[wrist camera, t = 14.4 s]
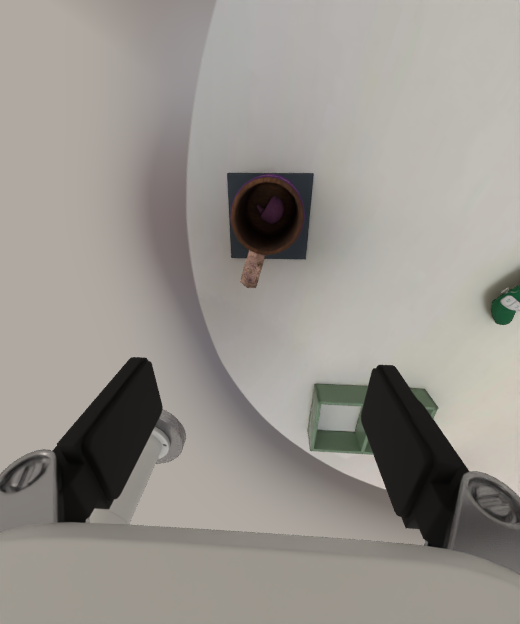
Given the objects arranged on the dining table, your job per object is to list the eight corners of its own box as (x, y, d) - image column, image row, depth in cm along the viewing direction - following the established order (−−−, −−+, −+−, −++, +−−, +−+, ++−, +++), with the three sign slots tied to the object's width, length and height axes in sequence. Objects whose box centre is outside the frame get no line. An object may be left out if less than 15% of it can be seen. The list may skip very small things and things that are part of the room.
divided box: (307, 431, 49) (310, 450, 45) (314, 383, 43) (317, 401, 39) (404, 437, 48) (414, 457, 44) (424, 388, 42) (438, 407, 38)
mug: (251, 165, 28) (236, 152, 17) (309, 187, 29) (328, 188, 18) (228, 249, 33) (204, 280, 22) (278, 267, 33) (278, 305, 23)
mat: (231, 257, 33) (231, 257, 33) (227, 173, 29) (227, 173, 28) (305, 258, 33) (305, 259, 33) (313, 173, 28) (313, 173, 28)
